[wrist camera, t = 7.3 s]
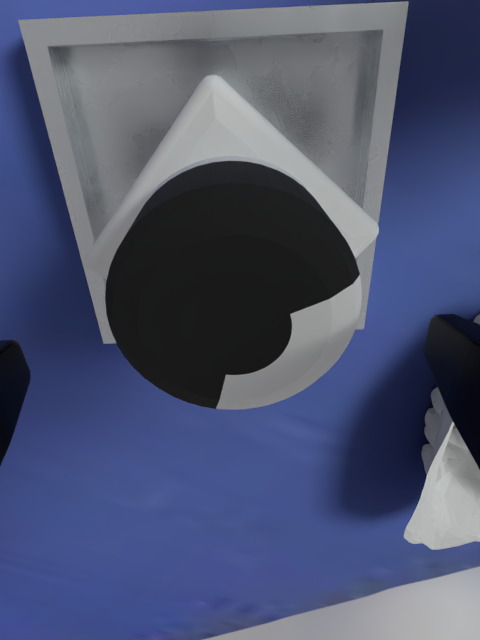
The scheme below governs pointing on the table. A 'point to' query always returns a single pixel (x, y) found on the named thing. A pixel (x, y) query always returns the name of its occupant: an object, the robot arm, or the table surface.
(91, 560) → the table surface
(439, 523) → the dental model
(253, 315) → the medicine bottle
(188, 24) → the tray
